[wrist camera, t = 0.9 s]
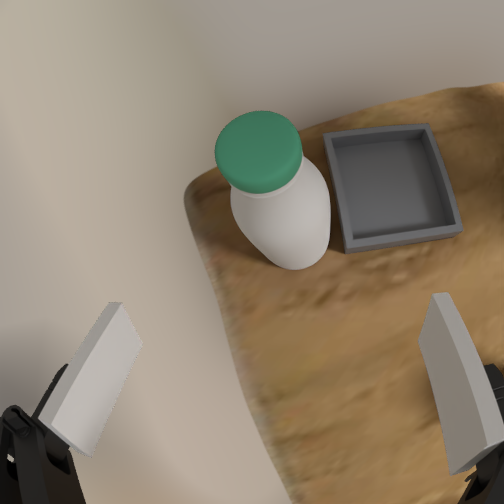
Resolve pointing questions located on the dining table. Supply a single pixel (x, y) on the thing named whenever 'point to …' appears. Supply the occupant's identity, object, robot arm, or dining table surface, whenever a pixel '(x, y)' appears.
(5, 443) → the robot arm
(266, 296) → the dining table surface
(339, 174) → the tray
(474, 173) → the dining table surface
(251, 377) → the dining table surface
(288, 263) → the milk bottle
